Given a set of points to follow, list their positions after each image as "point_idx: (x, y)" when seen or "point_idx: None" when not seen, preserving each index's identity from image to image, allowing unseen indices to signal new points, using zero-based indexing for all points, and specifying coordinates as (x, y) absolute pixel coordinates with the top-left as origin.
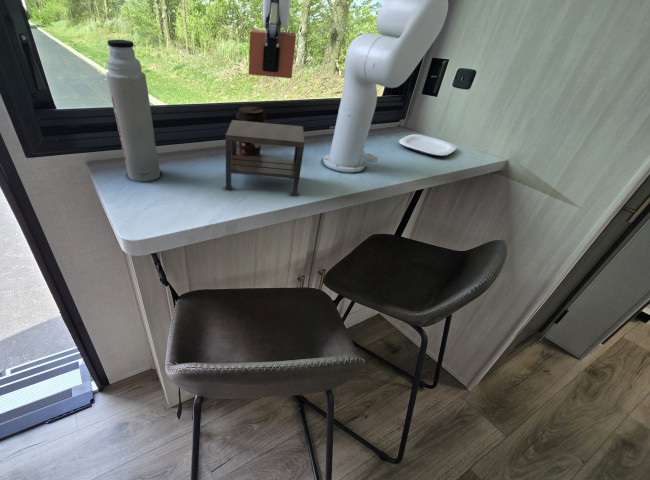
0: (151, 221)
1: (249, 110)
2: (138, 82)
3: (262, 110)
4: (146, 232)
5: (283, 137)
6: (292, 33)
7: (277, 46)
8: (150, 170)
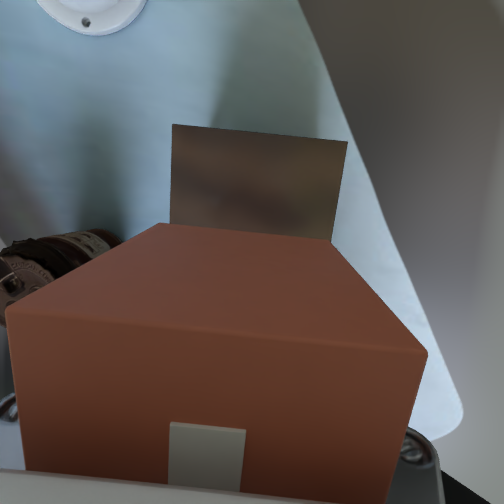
0: (413, 406)
1: None
2: None
3: (15, 259)
4: (445, 408)
5: (308, 209)
6: (118, 358)
7: (422, 445)
8: None
